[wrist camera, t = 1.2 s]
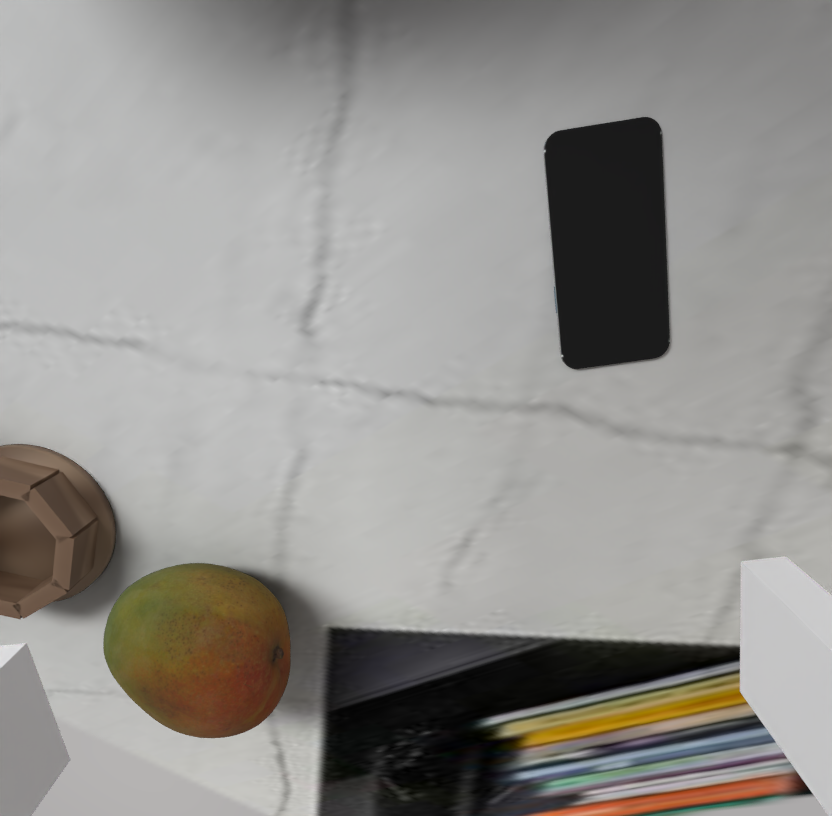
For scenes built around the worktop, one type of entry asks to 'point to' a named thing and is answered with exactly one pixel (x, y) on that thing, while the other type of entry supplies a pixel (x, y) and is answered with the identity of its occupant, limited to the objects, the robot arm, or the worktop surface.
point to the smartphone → (608, 241)
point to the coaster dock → (49, 529)
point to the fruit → (200, 649)
